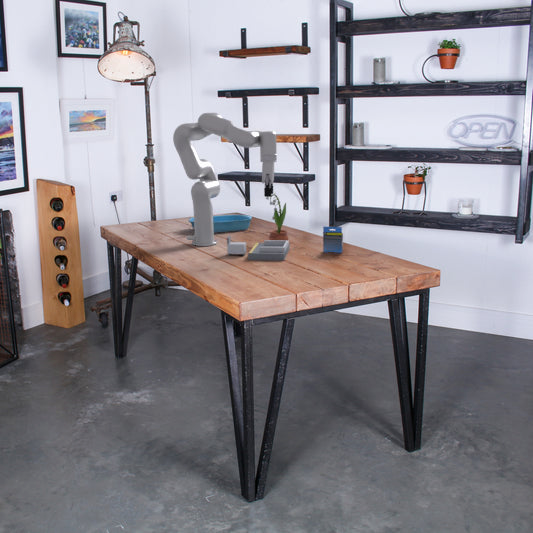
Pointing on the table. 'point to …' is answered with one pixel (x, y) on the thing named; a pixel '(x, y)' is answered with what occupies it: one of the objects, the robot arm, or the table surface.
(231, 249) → the lidded storage box
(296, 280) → the table surface
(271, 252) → the dock
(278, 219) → the potted flower
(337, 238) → the label tape cartridge
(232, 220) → the casserole dish
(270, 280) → the table surface
